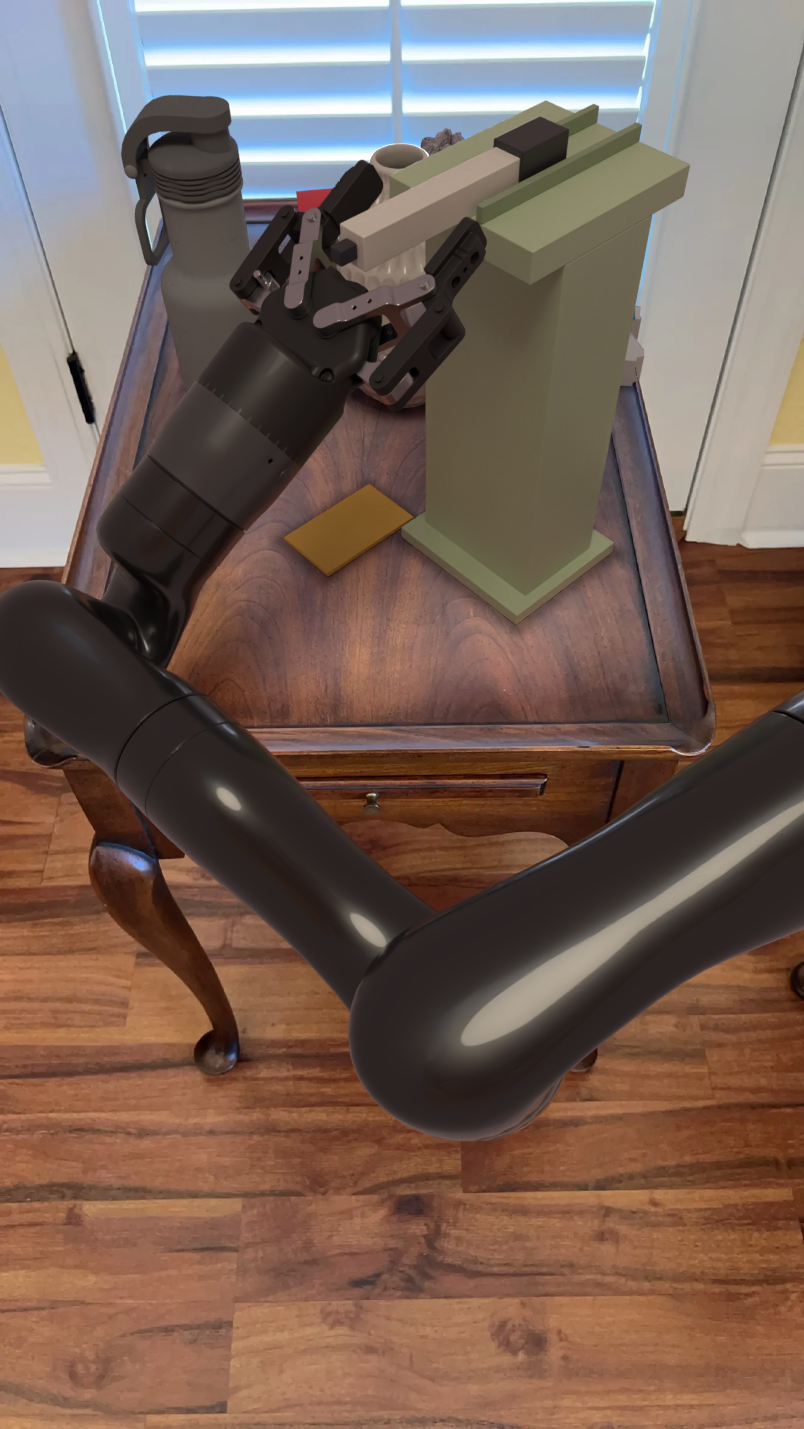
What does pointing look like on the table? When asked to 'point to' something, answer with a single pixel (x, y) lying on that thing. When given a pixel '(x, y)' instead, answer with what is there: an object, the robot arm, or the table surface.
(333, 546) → the mat
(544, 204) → the green railed pedestal
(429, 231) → the marker
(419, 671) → the table surface
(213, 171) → the water bottle
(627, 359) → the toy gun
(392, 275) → the vase
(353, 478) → the table surface
